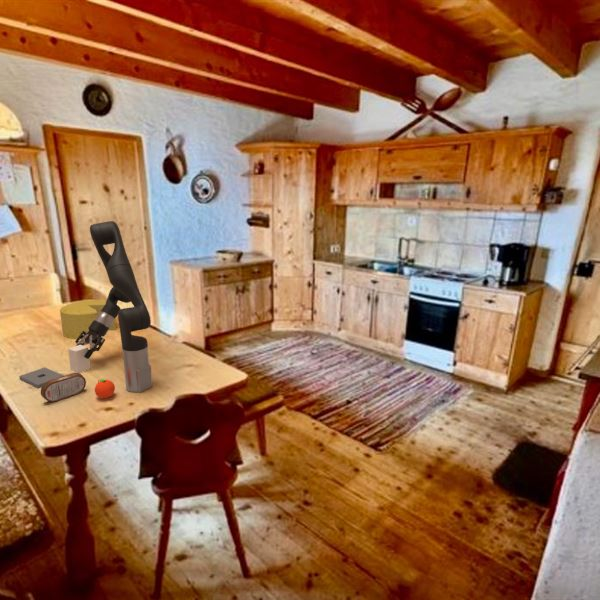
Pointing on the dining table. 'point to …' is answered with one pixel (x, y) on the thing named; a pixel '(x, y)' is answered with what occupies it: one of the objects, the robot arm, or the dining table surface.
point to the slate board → (39, 377)
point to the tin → (63, 387)
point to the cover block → (78, 358)
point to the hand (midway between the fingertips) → (80, 355)
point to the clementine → (104, 388)
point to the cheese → (80, 317)
